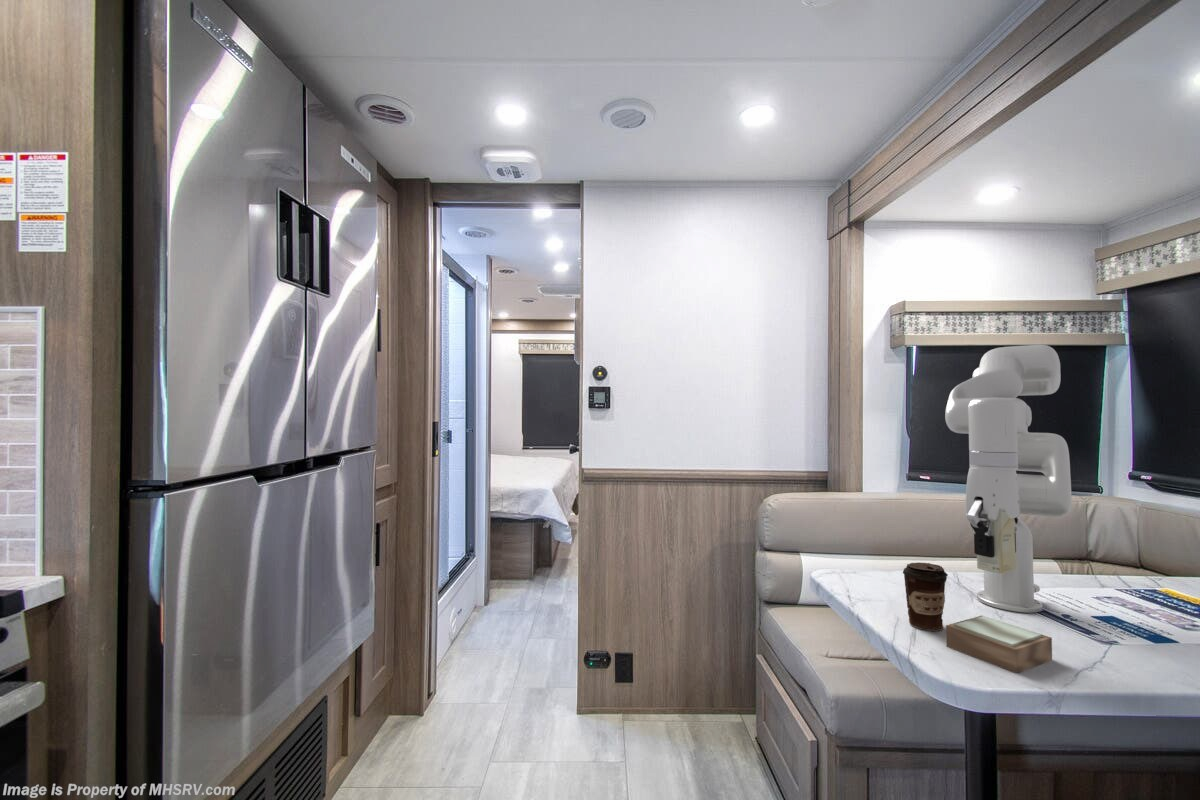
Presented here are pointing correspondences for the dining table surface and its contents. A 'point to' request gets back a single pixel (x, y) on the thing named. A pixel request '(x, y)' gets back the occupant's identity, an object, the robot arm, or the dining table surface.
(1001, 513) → the skincare box
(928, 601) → the coffee cup
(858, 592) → the dining table surface
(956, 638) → the walnut plinth
